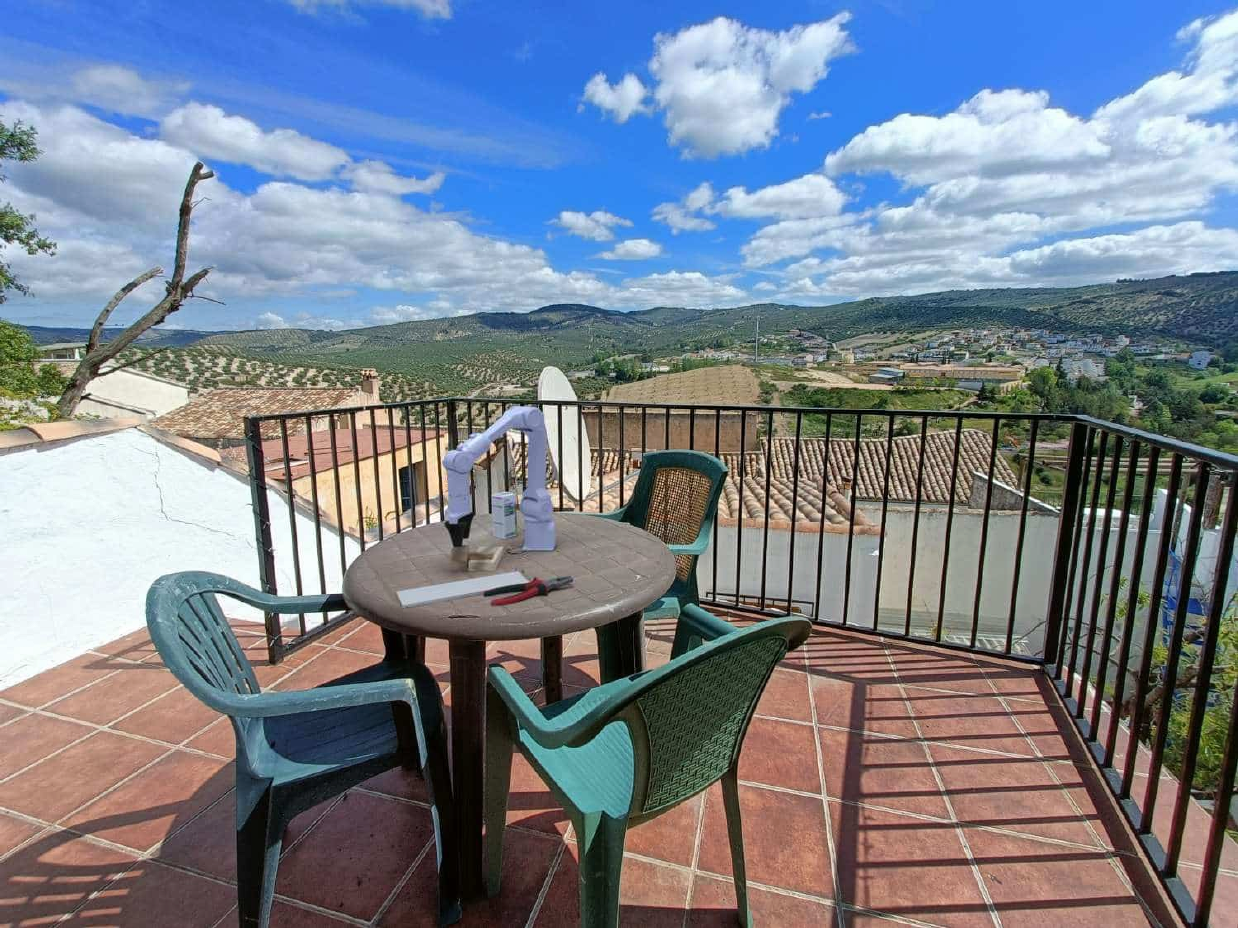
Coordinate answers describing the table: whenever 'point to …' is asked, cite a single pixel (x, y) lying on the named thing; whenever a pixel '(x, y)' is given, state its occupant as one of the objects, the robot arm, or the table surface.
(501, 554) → the plank
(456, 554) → the wooden mallet
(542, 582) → the pliers
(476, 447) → the robot arm
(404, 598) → the baseboard
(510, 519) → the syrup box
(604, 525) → the table surface
